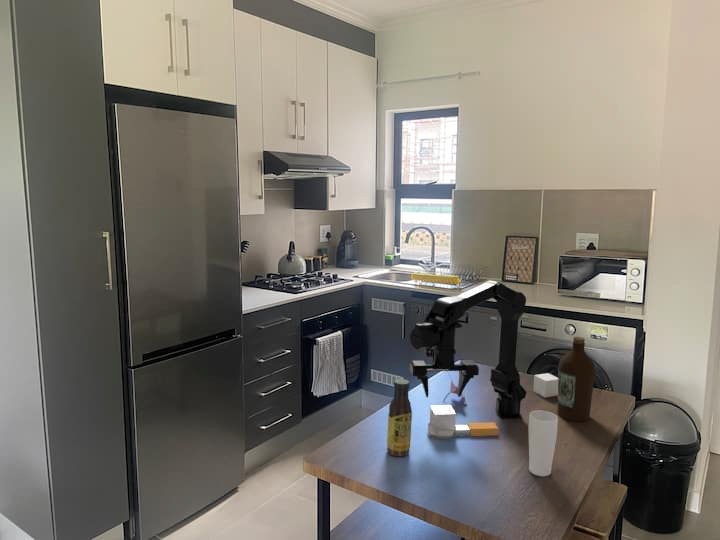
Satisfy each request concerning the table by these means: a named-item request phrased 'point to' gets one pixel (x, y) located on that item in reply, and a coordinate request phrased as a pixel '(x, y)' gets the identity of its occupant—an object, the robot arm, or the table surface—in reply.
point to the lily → (454, 390)
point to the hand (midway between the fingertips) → (442, 396)
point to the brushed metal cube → (442, 417)
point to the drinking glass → (542, 441)
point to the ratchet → (465, 430)
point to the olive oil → (575, 383)
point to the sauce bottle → (399, 420)
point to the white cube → (546, 385)
